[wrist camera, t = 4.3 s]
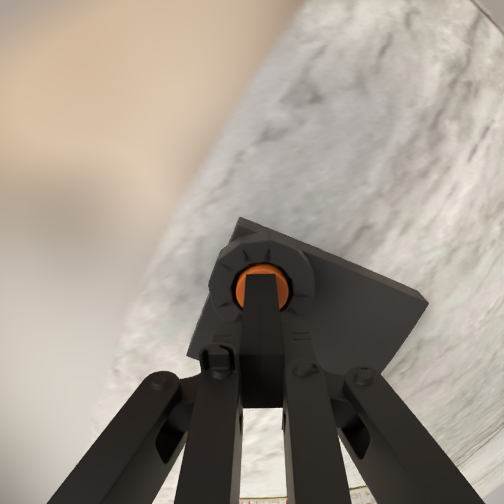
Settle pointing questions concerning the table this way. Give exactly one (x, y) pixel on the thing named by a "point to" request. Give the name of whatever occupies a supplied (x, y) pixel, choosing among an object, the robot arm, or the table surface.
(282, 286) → the button
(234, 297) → the scale
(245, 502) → the cereal box
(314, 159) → the table surface
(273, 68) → the table surface
